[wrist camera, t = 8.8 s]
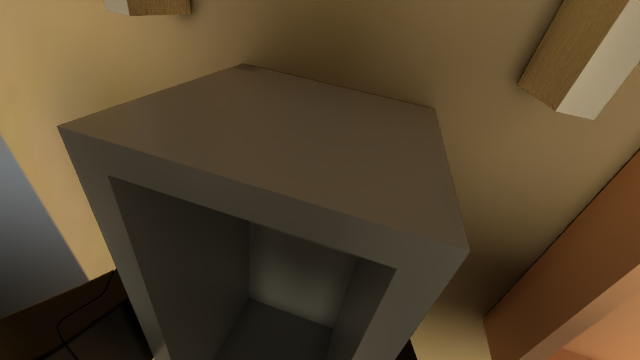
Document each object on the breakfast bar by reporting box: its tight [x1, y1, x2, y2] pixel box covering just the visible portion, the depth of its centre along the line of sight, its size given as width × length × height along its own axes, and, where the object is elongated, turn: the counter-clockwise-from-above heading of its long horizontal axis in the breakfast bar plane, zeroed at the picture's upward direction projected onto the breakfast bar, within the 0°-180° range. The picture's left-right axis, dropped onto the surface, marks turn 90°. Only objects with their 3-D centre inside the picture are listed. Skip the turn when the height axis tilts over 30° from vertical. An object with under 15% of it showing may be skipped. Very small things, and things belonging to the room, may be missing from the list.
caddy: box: [57, 63, 470, 360], centre depth 8 cm, size 11×5×5 cm, turn 171°
